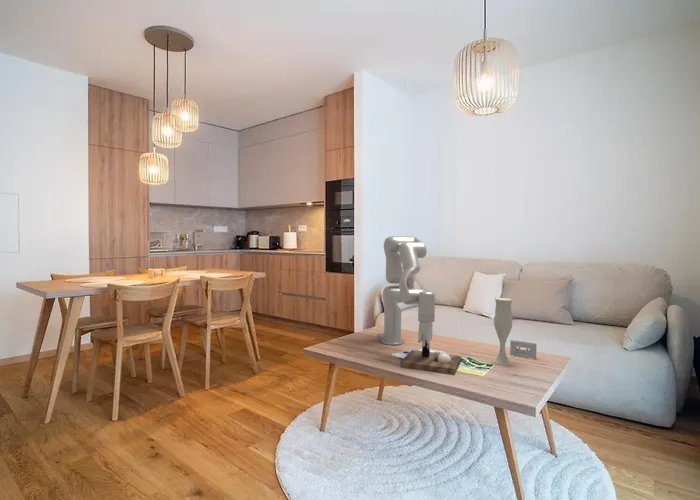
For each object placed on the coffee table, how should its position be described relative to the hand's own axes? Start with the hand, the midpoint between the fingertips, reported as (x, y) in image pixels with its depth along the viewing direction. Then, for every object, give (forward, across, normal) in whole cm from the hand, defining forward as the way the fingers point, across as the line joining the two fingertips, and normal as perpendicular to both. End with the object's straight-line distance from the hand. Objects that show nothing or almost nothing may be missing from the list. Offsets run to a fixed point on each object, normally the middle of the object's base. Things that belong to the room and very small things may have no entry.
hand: (425, 356), depth 184 cm
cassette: (+4, -29, +42) cm, 51 cm away
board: (+3, 0, +3) cm, 4 cm away
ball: (0, +1, +9) cm, 9 cm away
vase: (+3, -16, +33) cm, 37 cm away
